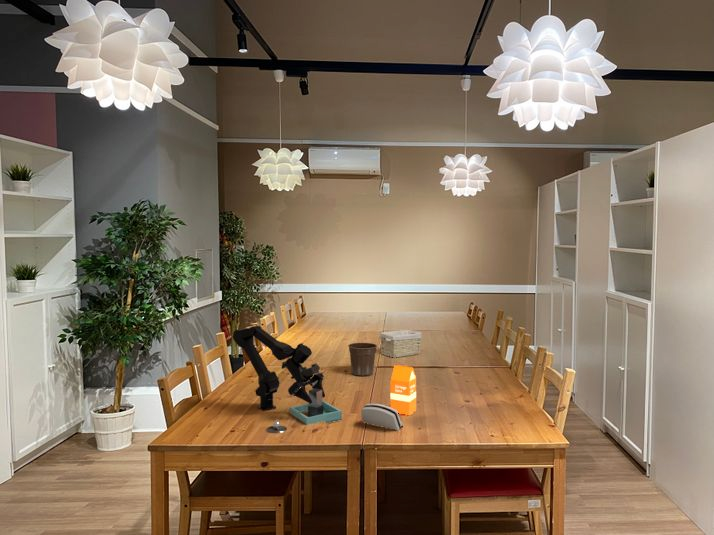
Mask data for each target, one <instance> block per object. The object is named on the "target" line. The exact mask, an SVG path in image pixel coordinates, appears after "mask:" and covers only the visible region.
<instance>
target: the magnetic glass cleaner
mask: <svg viewBox="0 0 714 535" xmlns="http://www.w3.org/2000/svg"><path fill="white" fill-rule="evenodd" d="M360 411H361V422H365V423H368V424H367V425H370V424H374V425H378V426H377V427H379V426H383V427H387V428H386V429H388V428H391V429H390V430H392V429H395V430H394V431H397V430H398V431H400V430H401V429H400V428H402V427H401V426H403V427H404V423H403V422H402V421H401V418H400V414H398V412H397V410H395V409H393V408H391V406H388V405H385V404H381V403H367V404H365V405H364V406H363V407H362V409H361V410H360ZM365 423H364V424H365ZM374 425H373V426H374ZM383 427H382V428H383ZM399 429H400V430H399Z"/></svg>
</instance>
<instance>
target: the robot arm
mask: <svg viewBox="0 0 714 535" xmlns="http://www.w3.org/2000/svg"><path fill="white" fill-rule="evenodd" d="M254 338H255V339H256V340H258V341H259V342H260V343H261V344H263V345H265V346H266V347H267V348H268V349H269V350H270V351H271V353H272V355H273V356H274V358H275V359H277V360H278V361H282V362H281V369H282V370H283V369H287V370H288V372H289V373H290V375H291V376H290V379H291V380H293V379H294V381H295V382H293V383H292V384H291V385H290V387H289V386H288V390H287V392H288V394H289V395H290V396H293V397H296V398H299V399H301V400H302V401H305V402H306V403H307V404H309V403H310V404H311V403H312V400H311V398H310V397H309V393H308V392H307V391H306V390H307V389H306V386H310V387H311V388H312V389H314V388H316V389H321V390H322V399H323V398H325V397H326V394H325V391H324V388H323V380H324V378H325V375H324V374H323V373H321V372H320V371H319V370H320V369H321V368H320V366H319V365H318V363H316V362H315V363H313V364H311V365H310V367H309V368H308V367H306V366H303V365H302V364H304V363H305V362H306V361H307V360H308V359H309V358H310V357H311V355H312V353H313V352H312V349H311V348H310V347H309V346H307V345H306V344H304V343H303V342H301V343H298V344H297V346H296V347H295V348H294V347H292V346H291V345H290V344H288V343H286V342H283V341H279V340H278V339H276V337H273V335H271V334H269V333H268V332H267V331H265V329H263V328H262V327H261V326H260V325H254V326H251V327H245V328H239V329H235V330H234V331H233V332H232V340H233V341H234V342H235V344H236V345H237V346H239V347H240V348H241V349H243V351H244V353H245V354H246V356H247V357H248V360H249V362H250V363H251V365H252V367H253V370H255V373H256V374H257V376H258V377H257V378H258V380H257V382H258V387H257V388H256V389H255V390H254V392H255V396H256V397H259V399H260V400H259V404H258V405H257V408H258V407H259V408H258V409H260V410H261V409H262V410H261V411H266V410H267V411H268V409H269V410H272V408H274V409H276V408H277V406H276V405H274V394H275V393H277V392H278V389H279V388H280V380H279V379H280V378H279V377H278V376H277V373H276V371H270V370H269V369H268V367H267V366H266V363H265V362H264V360H263V359H262V356H261V355H260V352H259V351H258V348H257V347H256V345H255V344H254ZM284 360H286V361H284Z"/></svg>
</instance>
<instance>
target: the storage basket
mask: <svg viewBox="0 0 714 535" xmlns="http://www.w3.org/2000/svg"><path fill="white" fill-rule="evenodd" d="M379 335H380V336H379V338H380V347H381V349H380V350H381V352H380V353H381V354H382V355H383V354H384V355H383V356H386V357H389V356H390V358H392V357H393V358H392V359H396V357H397V358H403V357H410V356H409V355H411V356H415V354H416V355H419V354H421V353H420V351H421V350H420V349H421V341H422V337H423V336H422V335H423V333H422V332H420V331H416V330H411V329H401V330H392V331H383V332H380V334H379ZM402 356H403V357H402Z"/></svg>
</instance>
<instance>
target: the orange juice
mask: <svg viewBox="0 0 714 535" xmlns="http://www.w3.org/2000/svg"><path fill="white" fill-rule="evenodd" d="M390 407H391V408H393V409H395V410H397V412H398V413H399V415H401V414H405V415H404V416H407V415H410V416H411V415H413V414H414V413H415V412H416V411H417V376H416V374H415V371H414V368H413V367H412V366H406V365H398V364H394V366H393V370H392V373H391V379H390ZM414 411H415V412H414ZM413 412H414V413H413Z"/></svg>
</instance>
